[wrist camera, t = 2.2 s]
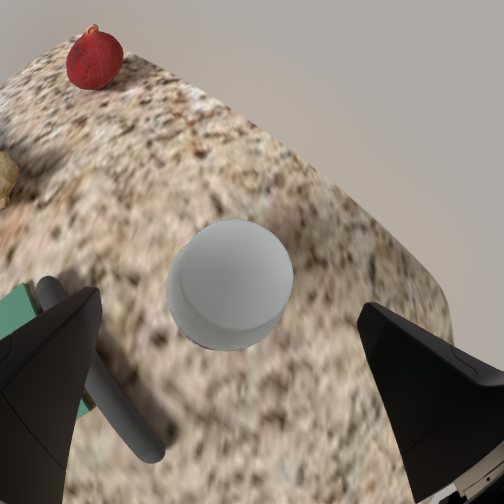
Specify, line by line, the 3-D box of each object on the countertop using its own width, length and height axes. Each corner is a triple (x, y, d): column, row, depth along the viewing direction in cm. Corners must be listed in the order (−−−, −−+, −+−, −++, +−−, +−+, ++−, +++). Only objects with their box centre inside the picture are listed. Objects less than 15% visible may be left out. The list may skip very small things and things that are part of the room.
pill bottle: (156, 306, 18) (126, 263, 9) (214, 255, 20) (237, 175, 11) (214, 367, 17) (239, 384, 8) (270, 311, 19) (338, 274, 10)
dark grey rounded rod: (172, 448, 15) (171, 458, 13) (149, 461, 14) (146, 472, 12) (60, 274, 17) (48, 266, 15) (40, 289, 16) (27, 282, 14)
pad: (92, 409, 14) (89, 411, 14) (11, 456, 11) (8, 457, 10) (26, 284, 16) (22, 282, 15) (-43, 343, 12) (-47, 343, 12)
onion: (93, 113, 22) (78, 46, 14) (64, 95, 22) (49, 37, 15) (136, 82, 24) (133, 18, 17) (105, 67, 24) (98, 10, 17)
